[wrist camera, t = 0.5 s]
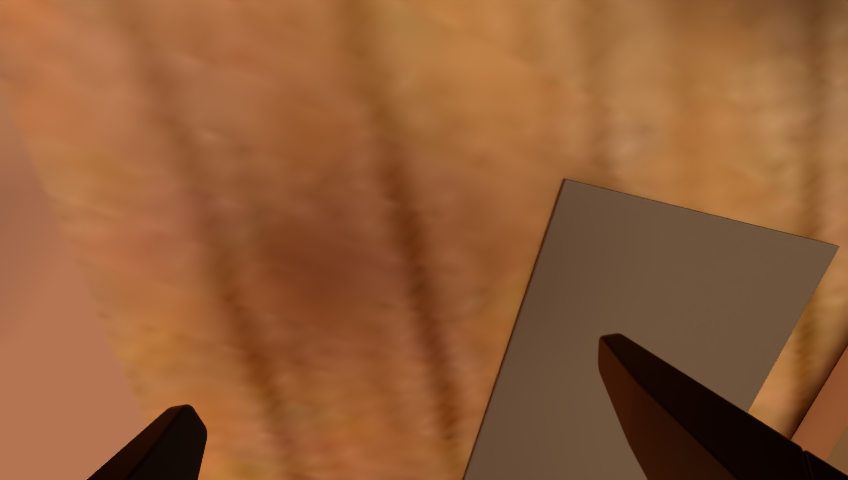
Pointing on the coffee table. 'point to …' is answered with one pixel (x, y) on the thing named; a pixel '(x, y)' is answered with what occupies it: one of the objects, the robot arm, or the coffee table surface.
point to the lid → (840, 454)
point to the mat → (635, 325)
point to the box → (826, 414)
